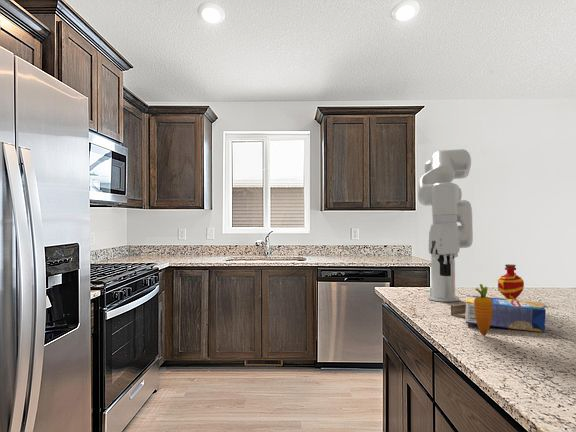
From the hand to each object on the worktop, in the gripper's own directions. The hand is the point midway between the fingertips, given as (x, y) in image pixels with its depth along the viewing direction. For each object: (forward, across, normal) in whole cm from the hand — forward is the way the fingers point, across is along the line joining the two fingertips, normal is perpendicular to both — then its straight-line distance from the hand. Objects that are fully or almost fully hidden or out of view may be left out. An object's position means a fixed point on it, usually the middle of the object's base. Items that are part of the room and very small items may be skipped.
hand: (445, 275), depth 144 cm
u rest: (+16, -19, +1) cm, 25 cm away
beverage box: (+11, -6, +3) cm, 13 cm away
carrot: (+16, +3, +17) cm, 23 cm away
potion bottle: (+16, -55, -15) cm, 59 cm away
